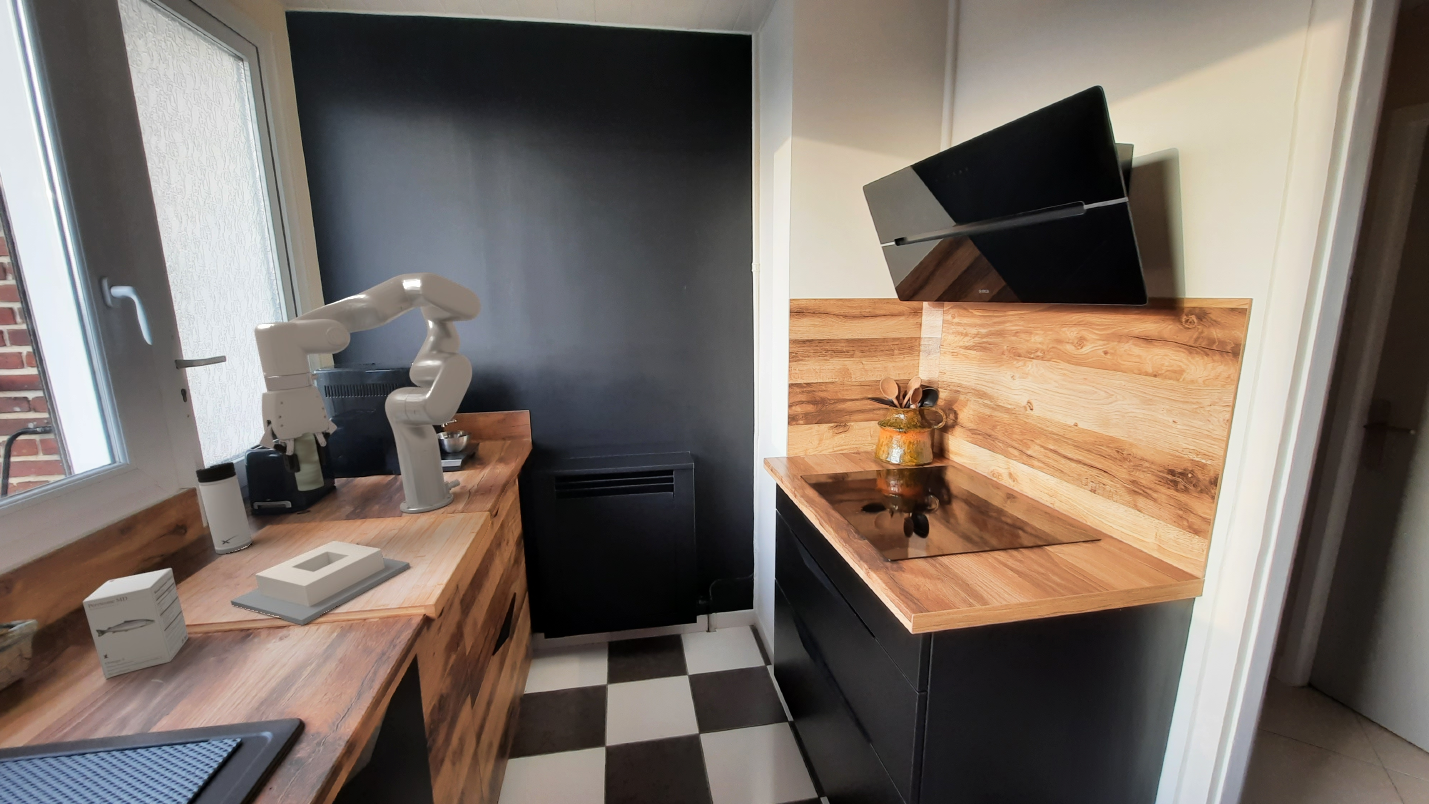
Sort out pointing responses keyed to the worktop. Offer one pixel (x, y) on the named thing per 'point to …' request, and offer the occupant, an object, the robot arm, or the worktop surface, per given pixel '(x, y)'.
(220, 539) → the travel mug
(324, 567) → the socket block
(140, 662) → the supplement box
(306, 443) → the peg
